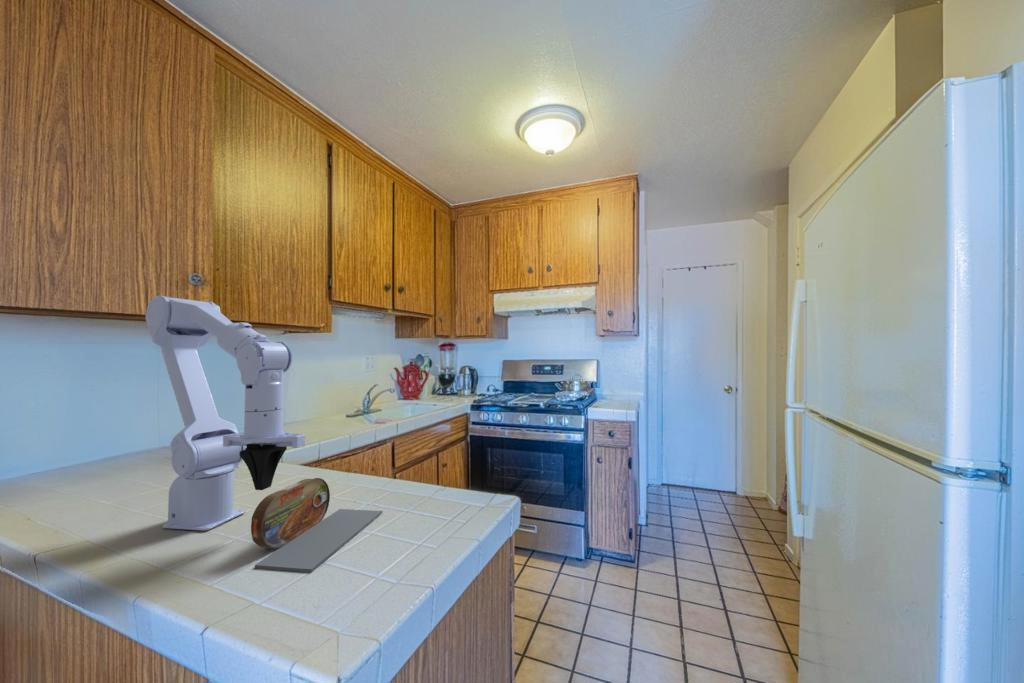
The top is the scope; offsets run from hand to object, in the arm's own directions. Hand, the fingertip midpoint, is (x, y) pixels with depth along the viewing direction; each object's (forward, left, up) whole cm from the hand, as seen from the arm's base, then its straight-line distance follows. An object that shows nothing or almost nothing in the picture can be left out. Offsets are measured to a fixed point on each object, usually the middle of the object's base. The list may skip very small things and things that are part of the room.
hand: (263, 488), depth 64 cm
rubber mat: (+12, 0, -8) cm, 15 cm away
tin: (+6, 0, -8) cm, 10 cm away
